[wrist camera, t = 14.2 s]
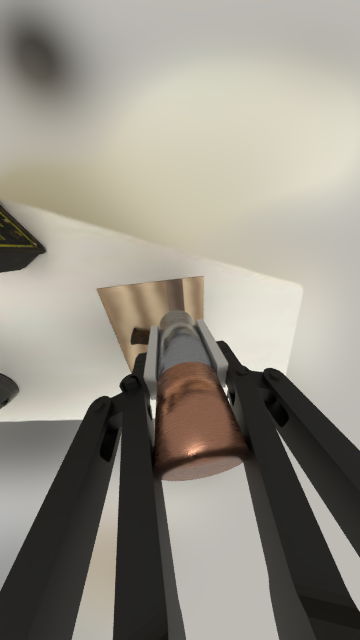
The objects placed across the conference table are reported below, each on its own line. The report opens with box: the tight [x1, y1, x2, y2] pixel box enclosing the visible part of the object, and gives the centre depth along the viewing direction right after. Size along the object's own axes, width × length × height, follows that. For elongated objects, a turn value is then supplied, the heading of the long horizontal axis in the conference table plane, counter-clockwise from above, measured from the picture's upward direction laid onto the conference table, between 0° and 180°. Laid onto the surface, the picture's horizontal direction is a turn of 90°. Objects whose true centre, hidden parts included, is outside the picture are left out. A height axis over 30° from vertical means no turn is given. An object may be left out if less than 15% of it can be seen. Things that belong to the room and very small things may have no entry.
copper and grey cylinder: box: [154, 310, 250, 481], centre depth 11 cm, size 4×4×12 cm
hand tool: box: [130, 328, 150, 345], centre depth 34 cm, size 19×4×5 cm, turn 72°
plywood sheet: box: [97, 276, 204, 373], centre depth 36 cm, size 24×28×1 cm
